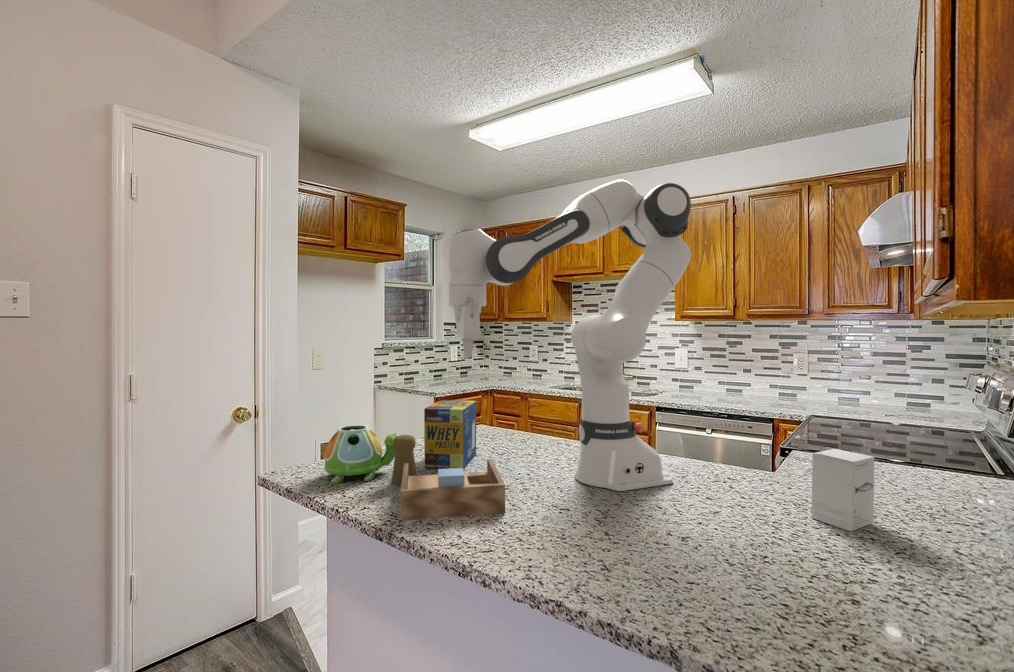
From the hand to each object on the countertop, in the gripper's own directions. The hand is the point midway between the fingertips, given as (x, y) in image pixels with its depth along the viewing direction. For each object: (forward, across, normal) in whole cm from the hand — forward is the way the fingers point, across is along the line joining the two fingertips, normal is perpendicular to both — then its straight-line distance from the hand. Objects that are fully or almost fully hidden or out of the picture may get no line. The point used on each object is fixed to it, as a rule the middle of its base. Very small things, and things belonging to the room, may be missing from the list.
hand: (467, 357), depth 117 cm
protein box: (+29, +16, +3) cm, 34 cm away
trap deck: (+29, -13, +5) cm, 32 cm away
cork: (+29, 0, +15) cm, 33 cm away
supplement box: (+29, -38, -66) cm, 82 cm away
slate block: (+27, -19, +5) cm, 33 cm away
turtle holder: (+29, +8, +26) cm, 40 cm away
